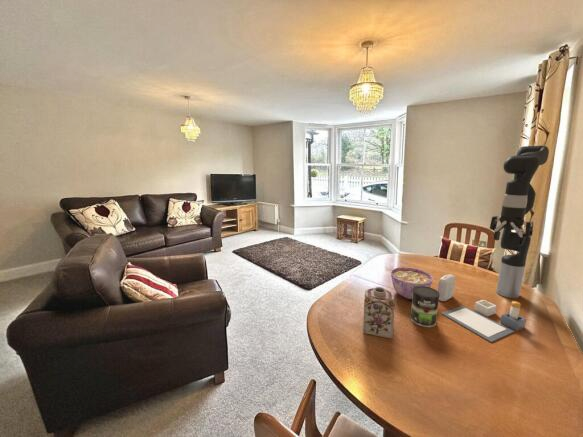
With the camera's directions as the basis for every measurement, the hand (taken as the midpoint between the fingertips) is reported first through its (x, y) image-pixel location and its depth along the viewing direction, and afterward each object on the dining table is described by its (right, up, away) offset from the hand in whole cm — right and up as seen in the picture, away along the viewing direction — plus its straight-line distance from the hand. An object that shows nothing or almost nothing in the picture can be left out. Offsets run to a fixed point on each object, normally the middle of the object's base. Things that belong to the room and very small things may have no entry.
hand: (507, 242), depth 109 cm
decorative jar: (-56, -37, -1) cm, 67 cm away
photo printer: (-14, -31, +22) cm, 40 cm away
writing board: (-13, -35, +1) cm, 37 cm away
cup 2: (+1, -35, -1) cm, 35 cm away
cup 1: (-3, -33, +9) cm, 34 cm away
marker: (+1, -35, -1) cm, 35 cm away
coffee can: (-34, -35, +4) cm, 49 cm away
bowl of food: (-31, -30, +25) cm, 50 cm away
